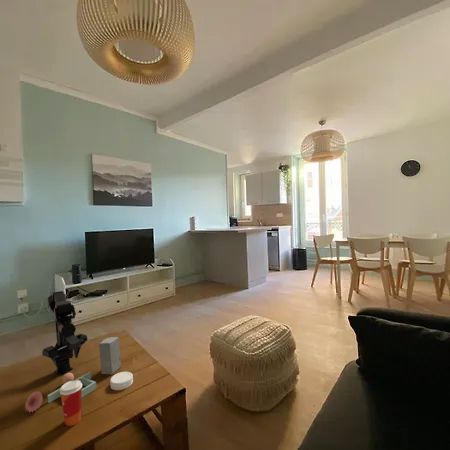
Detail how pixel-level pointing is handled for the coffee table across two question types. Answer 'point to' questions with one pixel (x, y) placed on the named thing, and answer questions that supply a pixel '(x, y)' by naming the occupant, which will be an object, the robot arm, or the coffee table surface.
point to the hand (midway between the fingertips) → (67, 362)
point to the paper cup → (71, 402)
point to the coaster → (121, 380)
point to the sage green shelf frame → (86, 382)
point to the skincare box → (110, 355)
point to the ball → (67, 378)
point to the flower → (34, 401)
